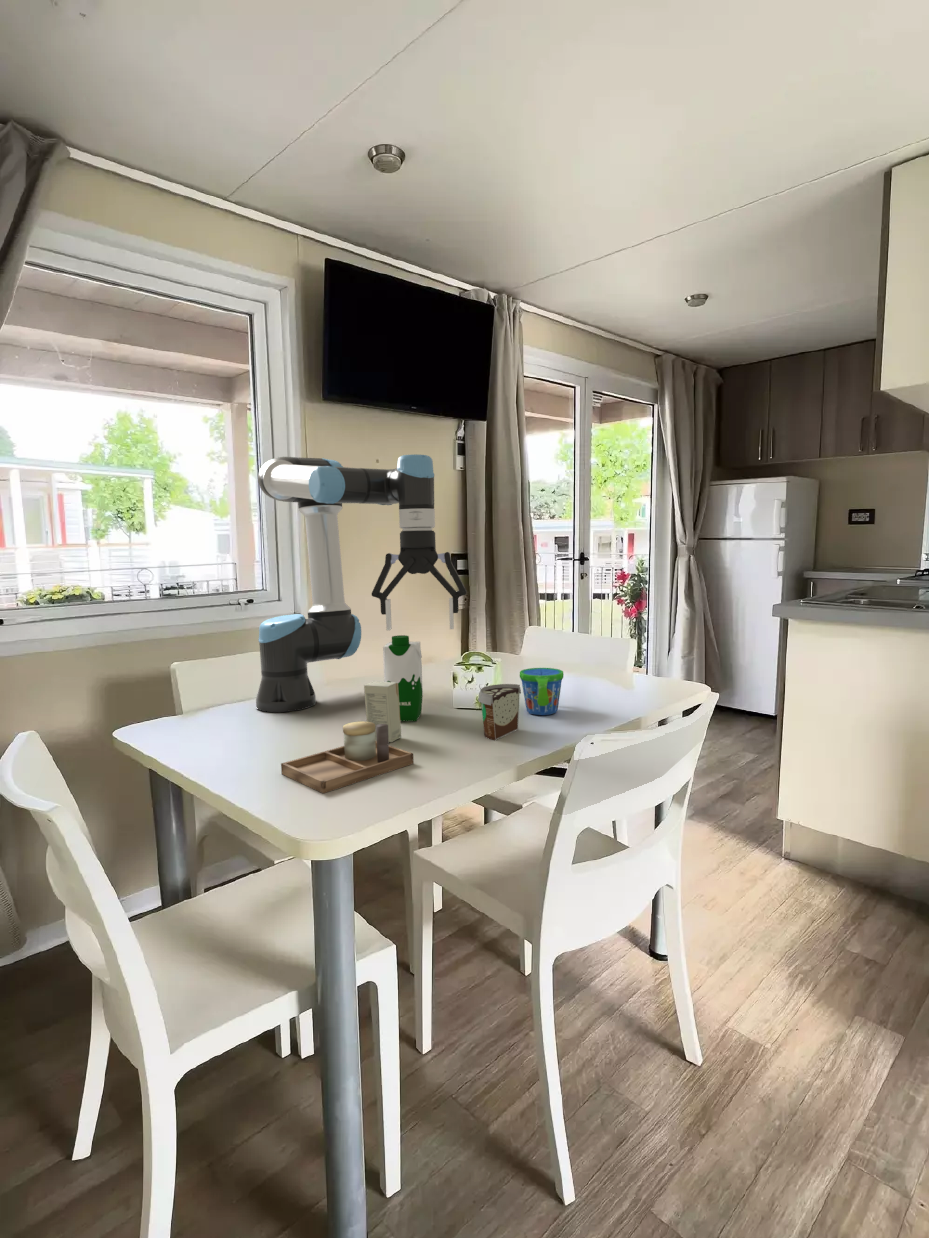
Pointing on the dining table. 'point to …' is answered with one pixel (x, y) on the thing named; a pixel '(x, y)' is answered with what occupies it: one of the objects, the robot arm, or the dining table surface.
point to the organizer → (349, 759)
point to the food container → (500, 709)
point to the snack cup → (541, 689)
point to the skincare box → (383, 707)
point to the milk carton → (405, 674)
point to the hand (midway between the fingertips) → (420, 629)
